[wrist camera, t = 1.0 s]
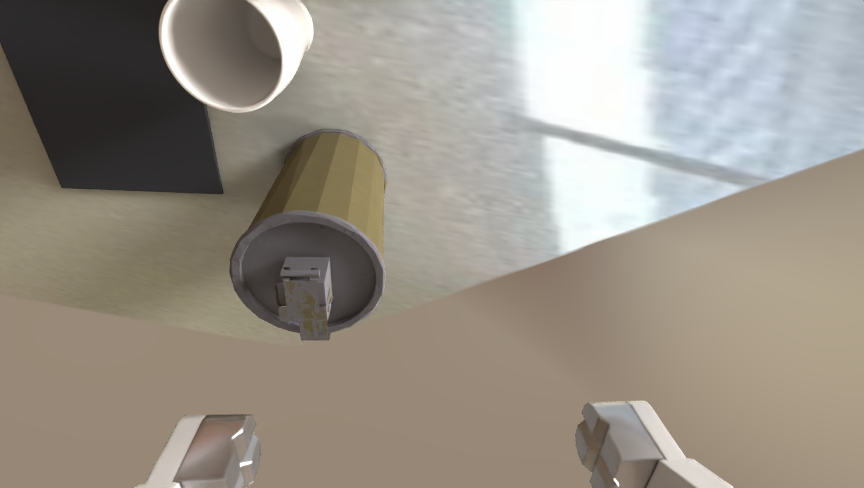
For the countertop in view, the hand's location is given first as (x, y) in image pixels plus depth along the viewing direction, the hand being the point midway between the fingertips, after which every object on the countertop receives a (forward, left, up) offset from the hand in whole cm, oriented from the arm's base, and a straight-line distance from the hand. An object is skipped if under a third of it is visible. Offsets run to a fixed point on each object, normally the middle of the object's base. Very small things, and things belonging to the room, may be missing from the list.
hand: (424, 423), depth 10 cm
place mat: (+1, -25, -35) cm, 43 cm away
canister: (+9, -6, -35) cm, 36 cm away
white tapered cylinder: (-5, -10, -35) cm, 36 cm away
